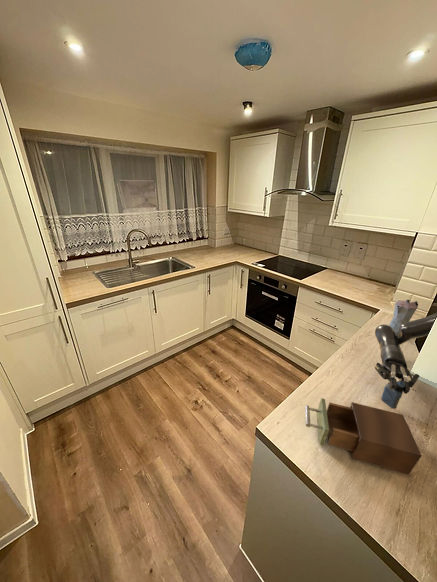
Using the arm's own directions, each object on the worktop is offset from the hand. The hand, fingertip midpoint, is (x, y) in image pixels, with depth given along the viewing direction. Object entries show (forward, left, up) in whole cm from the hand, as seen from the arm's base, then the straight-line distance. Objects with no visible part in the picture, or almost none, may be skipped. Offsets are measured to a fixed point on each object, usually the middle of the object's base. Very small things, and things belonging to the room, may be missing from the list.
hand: (400, 389), depth 78 cm
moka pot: (-23, -61, -12) cm, 66 cm away
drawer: (+21, +14, -11) cm, 27 cm away
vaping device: (0, -3, -10) cm, 11 cm away
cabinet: (+8, +14, -12) cm, 20 cm away
